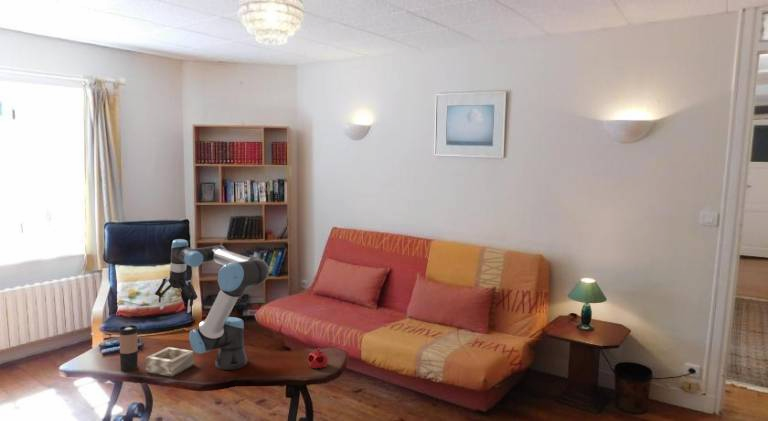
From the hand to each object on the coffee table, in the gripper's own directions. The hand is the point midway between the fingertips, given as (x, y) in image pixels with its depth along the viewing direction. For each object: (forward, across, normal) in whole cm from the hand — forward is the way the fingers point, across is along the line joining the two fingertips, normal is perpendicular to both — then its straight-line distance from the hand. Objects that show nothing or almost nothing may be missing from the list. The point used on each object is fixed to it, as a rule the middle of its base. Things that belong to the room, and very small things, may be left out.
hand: (175, 310), depth 256 cm
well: (+23, -5, +16) cm, 28 cm away
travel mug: (+25, +14, +17) cm, 33 cm away
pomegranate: (+16, -76, +11) cm, 78 cm away
